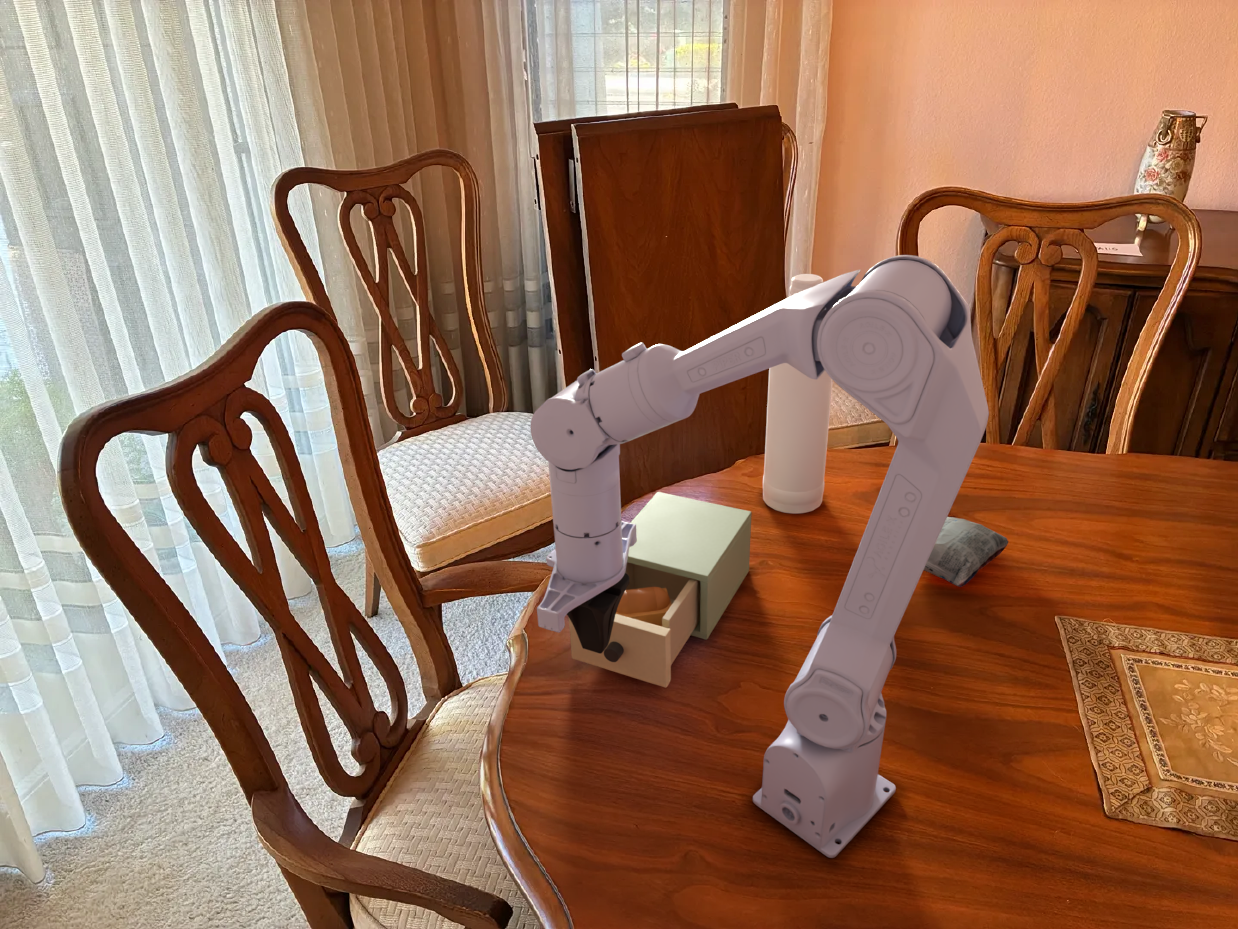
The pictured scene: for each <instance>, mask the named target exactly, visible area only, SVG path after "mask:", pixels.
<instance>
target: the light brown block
mask: <svg viewBox="0 0 1238 929" xmlns="http://www.w3.org/2000/svg"><path fill="white" fill-rule="evenodd" d="M671 605H672V604H671V601H670V598H669V595H668V592H667V589H666V588H659V587H646V588H637V589H629V590H625V592H624V594H623V596H622V598H621V600H620V603H619V605H618V608H617V611H616V614H618V615H622V616H625V617H629V618H633V619H636V620H640V621H643V622H647V623H650V624H654V625H657V626H661V627H662V618H663V616H664V615H665V614H666V612H667V611H668V609H669V608H670V607H671Z"/></svg>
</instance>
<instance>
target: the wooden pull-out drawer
mask: <svg viewBox="0 0 1238 929" xmlns="http://www.w3.org/2000/svg"><path fill="white" fill-rule="evenodd" d="M625 573H627V574H628V575H629V580H630V583H629V585H628V586H627V588H626V590H629V589H637V588H646V587H659V588H666V589H667V592H668V595H669V598H670V601H671V604H672V605H671V607H670V608H669V609H668V611H667V612H666V614H665V615H664V616H663V618H662V627H661V626H657V625H654V624H650V623H647V622H643V621H640V620H636V619H633V618H629V617H625V616H622V615H618V614H616V615H615V619H614V623H613V627H612V632H611V636H610V640H609V643H608V646H607V647H606V648H605V650H604V651H603V652H602V653H601V654H599V653H596V652H593V651H590V650H587V649H583V648H582V645H581V643H580V640H579V638H578V635H577V633H576V630H575V628H574V626H573V624H572V622H571V620H570V619H569V618H568V628H569V640H570V654H571V659H573V660H576V661H579V662H582V663H585V664H588V665H592V666H594V667H598V668H601V669H604V670H607V671H611V672H615V673H617V674H620V675H623V676H627V677H630V678H633V679H637V680H639V681H643V682H646V683H650V684H652V685H655V686H658V687H662V688H666V689H667V687H668V686H669V684H670V683H671V682H672V664H673V663H674V662H675V660H676V658H677V657H678V655H679V654H680V653H681V650H682V649H683V648H684V646H685V644H686V642H687V641H688V640H689V639H690V636H692V635H691V633H692V632H693V630H694V629H695V627H696V626H697V624H698V622H699V621H700V594H701V581H699V580H695V579H691V578H687V577H683V576H679V575H676V574H672V573H668V572H664V571H660V570H656V569H652V568H648V567H644V566H640V565H636V564H632V563H628V562H627V565H626V570H625Z"/></svg>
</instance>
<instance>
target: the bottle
mask: <svg viewBox="0 0 1238 929" xmlns="http://www.w3.org/2000/svg"><path fill="white" fill-rule="evenodd" d="M790 281H791V282H790V286H789V294H790V297H791V296H793V295H795V294H797V293H799V292H801V291H804V290H806V289H809V288H811V287H813V286H816V285H818V284H821V283H823V282H824V279H823V278H822V277H821V276H820V275H818V274H813V273H801V274H796V275H794V276H793V277H792V278H791V280H790ZM833 382H834V381H833V380H832V379H831V378H830V376H829V375H828V374H827V372H826V371H824V372H823V373H822V374H821V375H820V377H819V378H818V379H811V378H809V377H807V376H806V375H804V374H803V373H801V372H800V371H798V370H797V369H795V368H794V367H792V366H791V365H789V364H788V363H783V364H779V365H777V366H774V367H771V368H769V370H768V386H767V402H766V403H767V404H766V406H767V407H766V426H765V445H764V466H763V475H762V500H763V501H764V503H765V504H766V505H767V506H768V507H769V508H771V509H773V510H774V511H777V512H780V513H784V514H792V515H799V514H807V513H809V512H813V511H814V510H817V509H818V508H819V507H820V506H821V504H822V503H823V497H824V493H825V475H826V474H825V472H826V464H827V453H828V452H827V451H828V450H827V449H828V440H829V430H830V429H829V427H830V419H831V418H830V416H831V405H832V394H833Z"/></svg>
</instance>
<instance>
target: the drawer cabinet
mask: <svg viewBox="0 0 1238 929" xmlns="http://www.w3.org/2000/svg"><path fill="white" fill-rule="evenodd" d="M629 523H632V524H636V534H637V542H636V543H635V544H634V545H633V546H632V547H630V548H629V554H628V559H627V562H628V563H632V564H636V565H640V566H644V567H648V568H652V569H656V570H660V571H664V572H668V573H672V574H676V575H679V576H683V577H687V578H691V579H695V580H699V581H701V594H700V621H699V622H698V624H697V626H696V627H695V629H694V630H693V632H692V633H691V635H690V636H692V637H695V638H699V639H703V640H708V639H709V637H710V635H711V633H712V632H713V630H714V629H715V627H716V626H717V624H718V622H719V621H720V619H721V618H722V616H723V614H724V612H725V611H726V610H727V609H728V606H729V605H730V603H731V602H732V599H733V598H734V596H735V594H736V593H737V592H738V590H739V588H740V587H741V585H742V583H743V582H744V580H745V578H746V576H747V575H748V573H749V572H750V558H751V535H752V511H751V510H746V509H740V508H738V507H737V508H736V507H732V506H727V505H722V504H718V503H713V502H708V501H703V500H699V499H694V498H690V497H686V496H680V495H675V494H671V493H667V492H666V493H665V492H661V491H657V492H656V493H655V494H654V495H653V496H652V497H651V499H650V500H649V501H648V502H647V503H646V504H645V506H644V507H643V508H642V509H641V510H640V511H639V512H638V513H637V515H636V516H635V517H634V518H633V519H632V520H631V521H630V522H629Z"/></svg>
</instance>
